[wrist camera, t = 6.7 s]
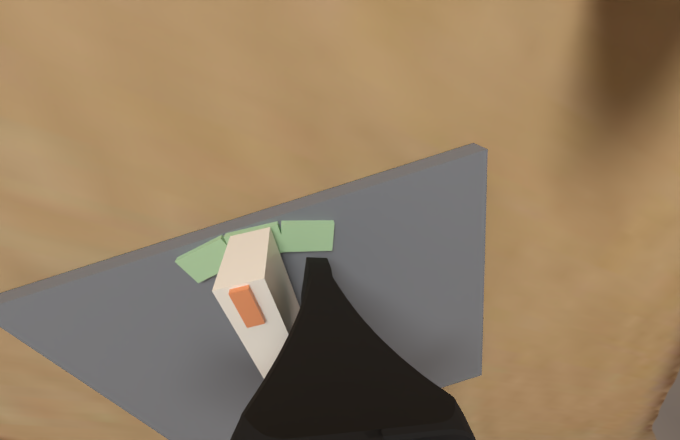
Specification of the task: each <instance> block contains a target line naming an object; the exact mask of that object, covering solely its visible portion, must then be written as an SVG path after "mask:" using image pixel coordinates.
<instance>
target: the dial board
mask: <svg viewBox="0 0 680 440" xmlns="http://www.w3.org/2000/svg"><path fill="white" fill-rule="evenodd" d="M487 152H488V149H486V148H484V147H481V146H479V145H477V144H475V143H472V144H469V145H466V146H463V147H459V148H456V149H453V150H450V151H447V152H444V153H441V154H437V155H434V156H431V157H428V158H425V159H422V160H418V161H415V162H412V163H409V164H406V165H403V166H400V167H396V168H393V169H390V170H387V171H384V172H381V173H378V174H374V175H371V176H368V177H365V178H362V179H359V180H355V181H352V182H349V183H346V184H343V185H340V186H337V187H333V188H330V189H327V190H324V191H321V192H318V193H315V194H311V195H308V196H305V197H302V198H299V199H296V200H292V201H289V202H286V203H283V204H280V205H277V206H274V207H270V208H267V209H264V210H261V211H258V212H255V213H252V214H248V215H245V216H242V217H239V218H236V219H233V220H229V221H226V222H223V223H220V224H217V225H214V226H211V227H207V228H204V229H201V230H198V231H195V232H192V233H188V234H185V235H182V236H179V237H176V238H173V239H170V240H166V241H163V242H160V243H157V244H154V245H151V246H148V247H144V248H141V249H138V250H135V251H132V252H129V253H125V254H122V255H119V256H116V257H113V258H110V259H107V260H103V261H100V262H97V263H94V264H91V265H88V266H85V267H81V268H78V269H75V270H72V271H69V272H66V273H62V274H59V275H56V276H53V277H50V278H47V279H44V280H40V281H37V282H34V283H31V284H28V285H25V286H22V287H18V288H15V289H12V290H9V291H6V292H3V293H0V327H1V328H2V329H4V330H5V331H7V332H8V333H10V334H11V335H13V336H14V337H16V338H17V339H19V340H20V341H22V342H23V343H25V344H26V345H28V346H29V347H31V348H32V349H34V350H35V351H37V352H38V353H40V354H41V355H43V356H44V357H46V358H47V359H49V360H50V361H52V362H53V363H55V364H56V365H58V366H59V367H61V368H62V369H64V370H65V371H67V372H68V373H70V374H71V375H73V376H74V377H76V378H77V379H79V380H80V381H82V382H83V383H85V384H86V385H88V386H89V387H91V388H92V389H94V390H95V391H97V392H98V393H100V394H101V395H103V396H104V397H106V398H107V399H109V400H110V401H112V402H113V403H115V404H116V405H118V406H119V407H121V408H122V409H124V410H125V411H127V412H128V413H130V414H131V415H133V416H134V417H136V418H137V419H139V420H140V421H142V422H143V423H145V424H146V425H148V426H149V427H151V428H152V429H154V430H155V431H157V432H158V433H160V434H161V435H163V436H164V437H166V438H167V439H169V440H230V439H231V437H232V434H233V432H234V430H235V428H236V426H237V424H238V421H239V419H240V417H241V414H242V412H243V411H244V409H245V408H246V406H247V405H248V403H249V402H250V400H251V399H252V397H253V396H254V394H255V393H256V391H257V390H258V388H259V387H260V385H261V383H262V382H263V380H264V378H263V377H262V375H261V373H260V372H259V370H258V368H257V366H256V365H255V363H254V361H253V360H252V358H251V356H250V355H249V353H248V351H247V350H246V348H245V346H244V345H243V343H242V341H241V339H240V338H239V336H238V334H237V333H236V331H235V329H234V328H233V326H232V324H231V323H230V321H229V319H228V317H227V316H226V314H225V312H224V311H223V309H222V307H221V306H220V304H219V302H218V301H217V299H216V297H215V296H214V294H213V292H212V289H213V286H214V283H215V280H216V277H217V274H218V271H219V268H220V265H221V262H222V259H223V256H224V253H225V250H226V247H227V244H228V241H229V238H230V236H233V235H238V234H242V233H246V232H250V231H255V230H259V229H263V228H268V227H270V228H271V231H272V233H273V236H274V239H275V242H276V244H277V247H278V250H279V252H280V255H281V258H282V261H283V263H284V266H285V269H286V271H287V274H288V277H289V280H290V282H291V285H292V288H293V290H294V293H295V296H296V299H297V301H298V304H299V307H300V306H301V292H302V285H303V278H304V271H305V264H306V257H317V258H327V259H328V261H329V264H330V267H331V270H332V276H333V278H334V280H335V281H336V283H337V284H338V286H339V287H340V289H341V290H342V292H343V293H344V295H345V296H346V298H347V299H348V300H349V302H350V303H351V305H352V306H353V307H354V308H355V310H356V311H357V312H358V314H359V315H360V316H361V317H362V318H363V320H364V321H365V322H366V323H367V324H368V325H369V326H370V327H371V329H372V330H373V331H374V332H375V333H376V334H377V335H378V336H379V337H380V338H381V339H382V340H383V341H384V342H385V343H386V344H387V345H388V346H389V347H390V348H392V349H393V350H394V351H395V352H396V353H397V354H398V355H399V356H400V357H401V358H403V359H404V360H405V361H406V362H407V363H408V364H410V365H411V366H412V367H413V368H415V369H416V370H417V371H418V372H420V373H421V374H422V375H423V376H425V377H426V378H427V379H429V380H430V381H432V382H433V383H434V384H436V385H437V386H439V387H440V388H442V387H445V386H448V385H451V384H455V383H458V382H461V381H464V380H467V379H470V378H474V377H477V376H480V375H482V339H483V302H484V264H485V227H486V190H487Z"/></svg>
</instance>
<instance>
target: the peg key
mask: <svg viewBox="0 0 680 440" xmlns="http://www.w3.org/2000/svg"><path fill="white" fill-rule="evenodd" d="M212 292H213V294H214V296H215V297H216V299H217V301H218V302H219V304H220V306H221V307H222V309H223V311H224V312H225V314H226V316H227V317H228V319H229V321H230V323H231V324H232V326H233V328H234V329H235V331H236V333H237V334H238V336H239V338H240V339H241V341H242V343H243V345H244V346H245V348H246V350H247V351H248V353H249V355H250V356H251V358H252V360H253V361H254V363H255V365H256V366H257V368H258V370H259V372H260V373H261V375H262V377H263V378H264V379H265V377H266V375H267V373H268V372H269V370H270V368H271V367H272V365H273V363H274V361H275V360H276V358H277V356H278V354H279V353H280V351H281V349H282V347H283V345H284V343H285V341H286V339H287V337H288V335H289V333H290V331H291V328H292V326H293V324H294V322H295V319H296V317H297V314H298V312H299V309H300V307H299V304H298V301H297V299H296V296H295V293H294V290H293V288H292V285H291V282H290V280H289V277H288V274H287V271H286V269H285V266H284V263H283V261H282V258H281V255H280V252H279V250H278V247H277V244H276V242H275V239H274V236H273V233H272V231H271V228H270V227H268V228H263V229H259V230H255V231H250V232H246V233H242V234H238V235H233V236H230V238H229V241H228V244H227V247H226V250H225V253H224V256H223V259H222V262H221V265H220V268H219V271H218V274H217V277H216V280H215V283H214V286H213V289H212Z"/></svg>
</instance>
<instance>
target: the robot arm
mask: <svg viewBox="0 0 680 440" xmlns="http://www.w3.org/2000/svg"><path fill="white" fill-rule="evenodd" d="M230 440H475V437H474V435H473V433H472V431H471V429H470V427H469V425H468V422H467V420H466V418H465V416H464V414H463V412H462V411H461V409H460V407H459V406H458V404H457V402H456V400H455V398H454V397H453V396H451V395H450V394H448V393H447V392H446V391H444V390H443V389H441V388H440V387H439V386H437V385H436V384H434V383H433V382H432V381H430V380H429V379H427V378H426V377H425V376H423V375H422V374H421V373H420V372H418V371H417V370H416V369H415V368H413V367H412V366H411V365H410V364H408V363H407V362H406V361H405V360H404V359H403V358H401V357H400V356H399V355H398V354H397V353H396V352H395V351H394V350H393V349H392V348H390V347H389V346H388V345H387V344H386V343H385V342H384V341H383V340H382V339H381V338H380V337H379V336H378V335H377V334H376V333H375V332H374V331H373V330H372V329H371V327H370V326H369V325H368V324H367V323H366V322H365V321H364V320H363V318H362V317H361V316H360V315H359V314H358V312H357V311H356V310H355V308H354V307H353V306H352V305H351V303H350V302H349V300H348V299H347V298H346V296H345V295H344V293H343V292H342V290H341V289H340V287H339V286H338V284H337V283H336V281H335V280H334V278H333V276H332V270H331V267H330V264H329V261H328V259H327V258H317V257H306V264H305V271H304V278H303V285H302V292H301V306H300V309H299V312H298V314H297V317H296V319H295V322H294V324H293V326H292V328H291V331H290V333H289V335H288V337H287V339H286V341H285V343H284V345H283V347H282V349H281V351H280V353H279V354H278V356H277V358H276V360H275V361H274V363H273V365H272V367H271V368H270V370H269V372H268V373H267V375H266V377H265V379H264V380H263V382H262V383H261V385H260V387H259V388H258V390H257V391H256V393H255V394H254V396H253V397H252V399H251V400H250V402H249V403H248V405H247V406H246V408H245V409H244V411H243V412H242V414H241V417H240V419H239V421H238V424H237V426H236V428H235V430H234V432H233V434H232V437H231V439H230Z"/></svg>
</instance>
